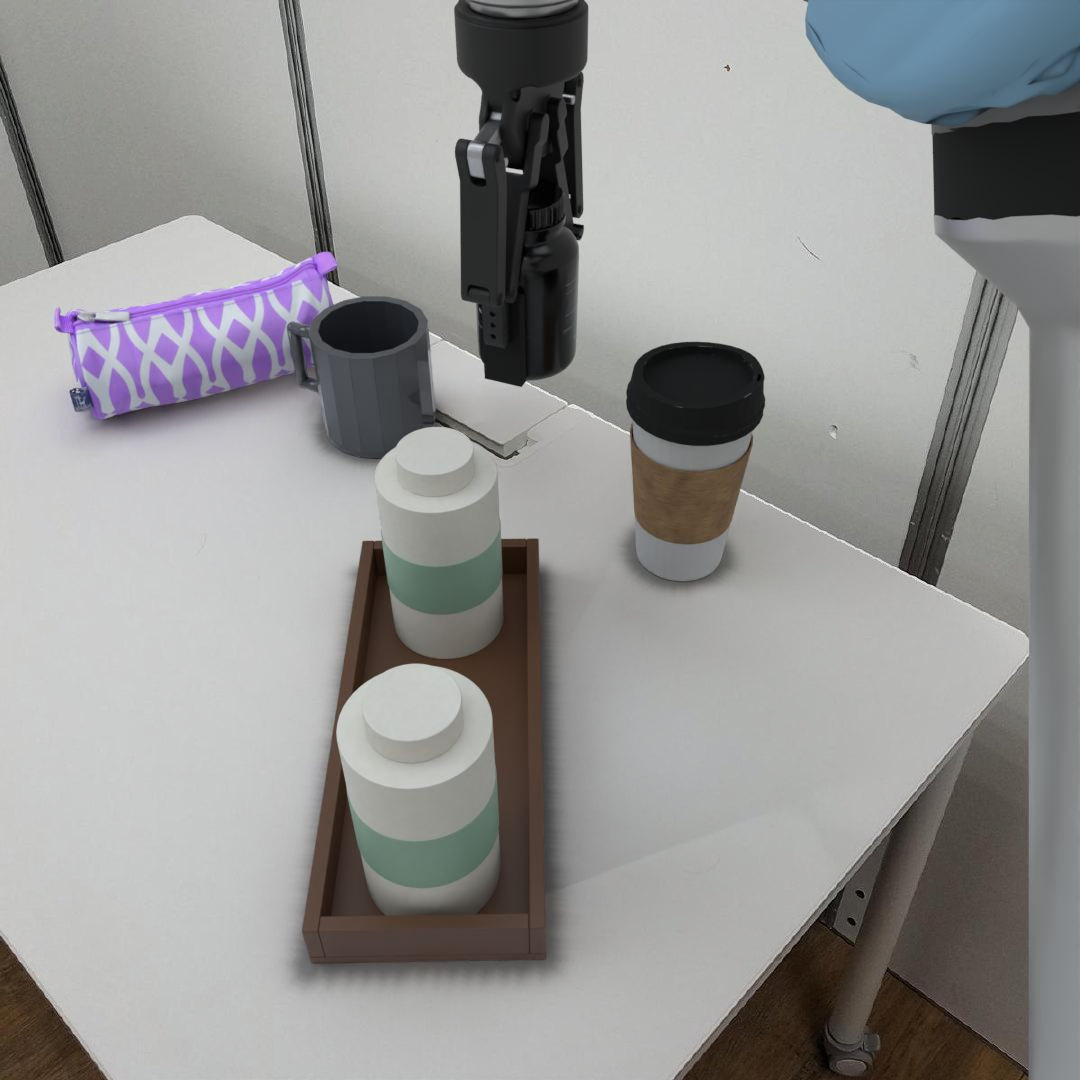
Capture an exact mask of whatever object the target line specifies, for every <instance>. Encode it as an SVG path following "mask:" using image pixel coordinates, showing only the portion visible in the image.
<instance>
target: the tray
mask: <svg viewBox="0 0 1080 1080" xmlns="http://www.w3.org/2000/svg"><path fill="white" fill-rule="evenodd" d="M501 547H502V571H503V573H502V590H503V615H504V619H503V624H502V627H501V630H500V632H499V634H498V635H497V636H496V638H495V639H494V640H493V641H492V642H491V643H490V644H489V645H487V646H486V647H485V648H483V649H481V650H480V651H478V652H476V653H474V654H471V655H468V656H464V657H460V658H454V659H437V658H430V657H427V656H423V655H421V654H418V653H416V652H414V651H412V650H411V649H410V648H408V647H407V646H406V645H405V644H404V643H403V642H402V641H401V640H400V638H399V637H398V635H397V633H396V630H395V625H394V618H393V611H392V604H391V596H390V589H389V585H388V581H387V573H386V566H385V559H384V552H383V544H382V540H362V541H361V547H360V548H361V549H360V554H359V560H358V566H357V574H356V581H355V587H354V591H353V592H354V594H353V599H352V606H351V612H350V619H349V625H348V632H347V639H346V645H345V650H344V651H345V652H344V656H343V657H344V658H343V664H342V669H341V670H342V671H341V677H340V682H339V683H340V684H339V690H338V697H337V702H336V710H335V715H334V722H333V729H332V734H331V739H330V740H331V741H330V746H329V754H328V759H327V760H328V761H327V767H326V773H325V780H324V785H323V786H324V787H323V792H322V799H321V805H320V812H319V817H318V818H319V819H318V824H317V829H316V838H315V845H314V851H313V855H312V856H313V857H312V863H311V870H310V877H309V883H308V889H307V895H306V902H305V907H304V915H303V922H302V927H301V933H302V936H303V940H304V944H305V947H306V950H307V953H308V957H309V959H310V963H311V964H326V963H329V964H330V963H388V962H389V963H390V962H392V963H393V962H395V963H397V962H451V961H453V962H455V961H459V962H461V961H462V962H463V961H515V960H517V961H518V960H522V961H523V960H546V959H547V926H546V925H547V924H546V921H547V918H546V868H545V867H546V866H545V865H546V864H545V861H546V859H545V812H544V809H545V807H544V755H543V753H544V751H543V750H544V749H543V702H542V700H543V699H542V698H543V696H542V695H543V694H542V647H541V646H542V645H541V643H542V642H541V640H542V639H541V593H540V591H541V588H540V586H541V585H540V583H541V582H540V539H539V538H531V537H530V538H501ZM406 664H426V665H431V666H437V667H442V668H446V669H449V670H452V671H454V672H457V673H459V674H461V675H463V676H465V677H466V678H468V679H469V680H471V681H472V682H473V683H474V684H475V685H476V686H477V687H478V688H479V689H480V690H481V691H482V692H483V694H484V695H485V697H486V699H487V700H488V703H489V705H490V708H491V712H492V719H493V737H494V755H495V765H496V772H497V790H498V808H499V844H500V863H501V870H500V877H499V881H498V884H497V887H496V889H495V891H494V893H493V895H492V896H491V898H490V899H489V901H488V902H487V903H486V905H485V906H484V907H483V908H482V909H481V910H480V911H479V912H477V913H476V914H448V915H385V914H384V913H382V912H381V911H380V909H379V908H378V907H377V906H376V905H375V903H374V901H373V900H372V898H371V895H370V893H369V890H368V886H367V882H366V877H365V872H364V867H363V863H362V858H361V853H360V850H359V847H358V843H357V839H356V834H355V830H354V825H353V820H352V815H351V811H350V806H349V801H348V796H347V787H346V781H345V777H344V772H343V767H342V762H341V757H340V753H339V748H338V743H337V734H336V730H337V723H338V719H339V715H340V713H341V711H342V709H343V707H344V705H345V703H346V702H347V700H348V699H349V698H350V697H351V695H352V694H353V693H354V692H355V691H356V690H357V689H358V688H359V687H360V686H362V685H363V684H364V683H366V682H367V681H369V680H370V679H372V678H374V677H375V676H377V675H380V674H382V673H384V672H385V671H387V670H389V669H391V668H394V667H397V666H401V665H406Z"/></svg>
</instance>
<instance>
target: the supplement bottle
mask: <svg viewBox="0 0 1080 1080" xmlns="http://www.w3.org/2000/svg"><path fill="white" fill-rule="evenodd" d="M565 218H566V213H565V196H564V191H563V190H562V188H560V186H558V185H556V184H555V183H552V182H550V181H547V180H544V179H538V184H537V186H536V187H535V188H533V189H531V190H530V192H529V197H528V206H527V214H526V222H525V231H524V239H523V248H522V256H521V265H520V273H519V282H518V290H517V293H520V294H524V305H525V353H526V382H529V381H540V380H545V379H549V378H552V377H554V376H556V375H559V374H560V373H562V372H563V371H566V369H568V367H569V366H570V365H571V364H572V363H573V361H574V359H575V356H576V351H577V339H578V338H577V337H578V336H577V334H578V303H579V275H580V274H579V271H580V246H579V245H580V244H579V242H578V240H577V239H576V237H575V236H574V234H573V233H572V231H571V230H570V229H569V228H568V227H567V226H565V225H564V224H565ZM475 309H476V310H475V311H476V333H477V335H476V336H477V351H478V356H479V359H480V361H481V363H482V364H484V354H483V334H482V314H481V304H478V303H475Z"/></svg>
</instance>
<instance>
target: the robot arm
mask: <svg viewBox="0 0 1080 1080" xmlns="http://www.w3.org/2000/svg"><path fill="white" fill-rule="evenodd" d="M803 2H806V3H807V5H806V11H805V17H804V24H805V25H804V26H805V37H806V38H807V39H808V41H809V43H810V45H811V46H812V48H813V50H814V51H815V52H816V54H817V57H818V58H819V59H820V60H821V62H822V63H823V64H824V66H825V67H826V68H827V69H828V71H829V72H830V73H831V75H832V76H833V77H834V78H835V79H836V80H837V81H838V82H839V83H841V84H842V85H843V86H844V88H846V89H847V90H848V91H850V92H852V93H853V94H854V95H857V96H858V97H860V98H861V99H862V100H865V101H866V102H868V103H871V104H873V105H877V106H880V107H882V108H886V109H889V110H891V111H892V112H894V113H896V114H897V115H898V116H900V117H901V118H903V119H906V120H909V121H913V122H915V123H919V124H922V125H923V124H924V125H931V127H930V128H931V131H930V133H931V136H932V137H931V139H932V140H931V141H932V174H933V176H932V177H933V182H932V183H933V224H934V226H933V227H934V235H935V236H936V237H938V238H939V239H940V240H941V241H942V242H944V244H945V245H947V246H948V247H949V248H950V249H952V250H953V251H954V252H955V253H956V254H957V255H958V256H959V257H960V258H962V259H963V260H964V261H965V262H966V263H967V264H968V265H969V266H971V268H973V269H974V270H975V271H976V272H977V273H978V274H980V276H982V277H983V278H984V279H985V280H986V281H988V283H990V284H991V285H992V286H993V287H994V288H995V289H997V291H999V292H1000V293H1001V294H1002V295H1003V296H1004V297H1006V298H1007V299H1008V300H1009V301H1010V302H1011V303H1012V304H1013V305H1015V306H1016V308H1017V310H1018V311H1019V313H1020V315H1021V316H1022V318H1023V320H1024V322H1025V323H1026V326H1027V327H1028V418H1029V419H1028V421H1029V422H1028V1080H1080V0H803ZM453 15H454V32H455V33H454V34H455V50H456V51H455V52H456V63H457V66H458V69H459V70H460V71H461V73H462V74H463V75H464V76H465V77H467V78H469V79H470V80H472V81H473V82H474V83H475V84H476V85H477V86H478V87H479V88H480V90H481V98H480V107H479V114H478V133H477V134H476V136H475V137H474V139H466V138H458V140H457V141H456V143H455V147H454V157H455V164H456V167H457V174H458V178H459V215H460V216H459V224H460V225H459V226H460V227H459V228H460V229H459V232H460V234H459V239H460V242H459V244H460V298H461V300H462V301H464V302H469V303H473V304H476V303H478V304H481V314H482V334H483V354H484V363H483V373H484V379H486V380H489V381H493V382H498V383H503V384H506V385H511V386H515V387H519V388H522V387H524V385H525V384H526V382H527V381H526V353H525V305H524V294H520V293H517V290H518V282H519V273H520V265H521V256H522V248H523V239H524V231H525V222H526V214H527V206H528V197H529V192H530V190H531V189H533V188H535V187H536V186H537V184H538V179H544V180H547V181H550V182H552V183H555V184H556V185H558V186H560V188H562V190H563V191H564V196H565V213H566V218H565V224H564V225H565V226H567V227H568V228H569V229H570V230H571V231H572V233H573V234H574V236H575V237H576V239H577V241H582V238H583V235H584V233H585V231H584V230H585V225H584V224H580V223H576V222H575V223H574V218H575V219H580V218H581V217H582V216H583V213H584V180H583V179H584V178H583V177H584V176H583V143H582V141H583V140H582V139H583V138H582V136H583V135H582V102H583V101H582V100H583V90H584V81H585V80H584V72H583V71H584V69H585V68H586V66H587V64H588V58H589V57H588V55H589V52H588V51H589V3H588V2H586V0H458V1H457V3H456V4H455V5H454V8H453ZM507 169H511V170H516V171H517V170H518V171H521V172H522V173H517V172H512V171H507Z"/></svg>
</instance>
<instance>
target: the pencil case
mask: <svg viewBox="0 0 1080 1080" xmlns="http://www.w3.org/2000/svg"><path fill="white" fill-rule="evenodd" d="M338 268H339V265H338V262H337V260H336V259H335V257H334V255H333V254H332V252H331V251H321V252H319V253H317V254H315V255H313V256H308V257H307V258H306V259H305V260H302V261H300V262H298V263H296V264H293V265H290V266H288V267H286V268H284V269H281V270H280V271H278V272H277V273H275V274H273V275H270V276H266V277H261V278H259V279H256V280H250V281H244V282H241V283H238V284H235V285H232V286H230V287H225V288H216V289H210V290H203V291H199V292H193V293H189V294H186V295H182V296H180V297H176V298H174V299H171V300H168V301H155V302H150V303H146V304H142V305H138V306H137V305H135V306H127V307H126V306H125V307H119V308H113V309H109V310H108V309H107V310H104V311H97V312H94V311H89V310H85V309H81V308H71V309H70V310H69V311H67V312H66V313H65V315H61V307H59V306H58V307H56V308H55V311H54V317H53V319H54V321H53V322H54V329H55V331H56V332H58V333H60V334H61V333H62V334H67V340H68V347H69V352H70V360H71V361H70V362H71V366H72V370H73V374H74V377H75V381H76V383H77V386H78V387H74V388H72V389H70V390H69V391H68V392H69V396H70V399H71V403H72V406H73V409H74V411H75V412H76V413H82V412H87V411H90V413H91V414H92V416H93V417H94V418H95V420H101V421H103V420H106V419H109V418H112V417H114V416H117V415H122V414H126V413H130V412H134V411H139V410H143V409H147V408H151V407H156V406H166V405H171V404H176V403H177V404H178V403H183V402H188V401H193V400H199V399H202V398H206V397H210V396H213V395H216V394H220V393H224V392H229V391H232V390H235V389H240V388H242V387H247V386H250V385H254V384H258V383H261V382H266V381H270V380H274V379H276V378H280V377H283V376H285V375H291V374H293V373H295V371H294V365H293V360H292V354H291V349H290V344H289V338H288V333H287V325H288V323H290V322H293V321H294V322H298V323H303V324H307V325H311V323H312V320H313V319H314V318H315V317H316V316H317V315H318V314H319V313H321V312H322V311H323V310H324V309H326V308H328V307H330V306H332V305H334V302H333V297H332V295H331V291H330V286H329V282H328V277H327V274H328V273H330V272H331V271H332V272H333V271H334V270H336V269H338ZM302 341H303V347H304V353H305V359H306V364H307V370H309V369H311V368H314V362H313V356H312V350H311V344H310V339H308V338H304V337H302Z"/></svg>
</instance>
